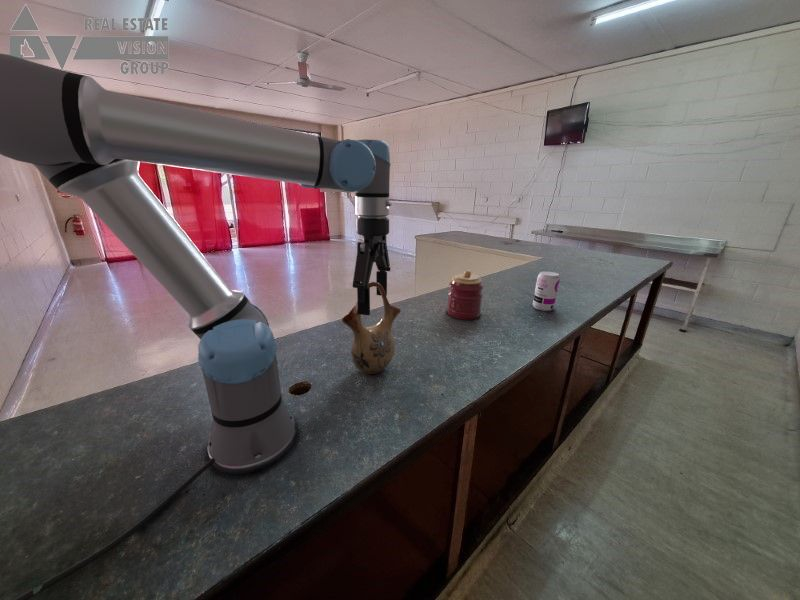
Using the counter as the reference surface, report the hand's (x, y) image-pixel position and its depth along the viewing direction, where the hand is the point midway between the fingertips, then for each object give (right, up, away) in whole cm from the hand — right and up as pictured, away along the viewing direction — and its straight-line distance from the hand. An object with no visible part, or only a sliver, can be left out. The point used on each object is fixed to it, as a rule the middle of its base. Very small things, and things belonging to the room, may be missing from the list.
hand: (373, 304), depth 79 cm
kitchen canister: (+32, -5, +46) cm, 56 cm away
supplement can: (+67, -2, +54) cm, 86 cm away
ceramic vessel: (-1, -18, +7) cm, 19 cm away
